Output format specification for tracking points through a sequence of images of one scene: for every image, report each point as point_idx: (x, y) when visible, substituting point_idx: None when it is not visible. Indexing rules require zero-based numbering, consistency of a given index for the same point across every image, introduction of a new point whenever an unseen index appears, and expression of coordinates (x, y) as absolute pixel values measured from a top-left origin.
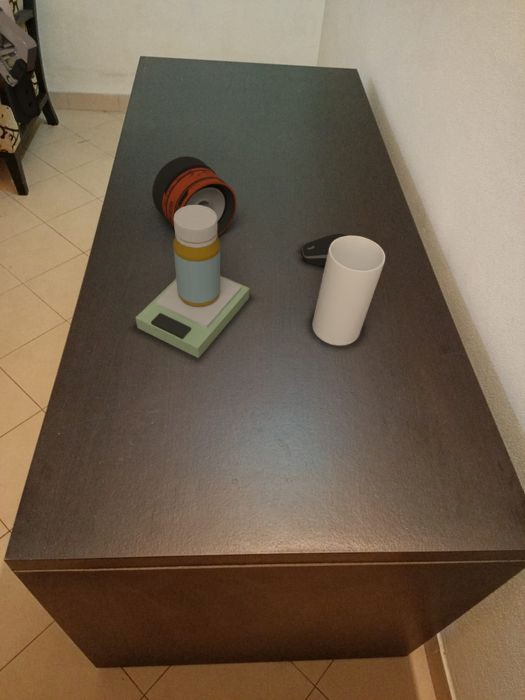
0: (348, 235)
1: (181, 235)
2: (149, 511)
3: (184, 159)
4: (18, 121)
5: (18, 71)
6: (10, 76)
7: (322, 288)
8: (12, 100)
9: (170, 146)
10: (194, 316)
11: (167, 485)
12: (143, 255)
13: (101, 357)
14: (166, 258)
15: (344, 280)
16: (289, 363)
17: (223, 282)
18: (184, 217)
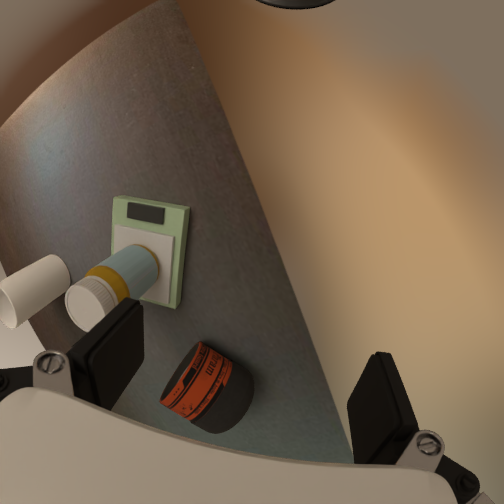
0: None
1: (92, 283)
2: (103, 57)
3: (214, 427)
4: (125, 297)
5: (15, 378)
6: (37, 367)
7: (34, 284)
8: (93, 327)
9: (302, 453)
10: (129, 232)
11: (98, 77)
12: (243, 312)
13: (203, 155)
14: (217, 315)
15: (6, 281)
16: (65, 222)
17: None
18: (93, 307)
